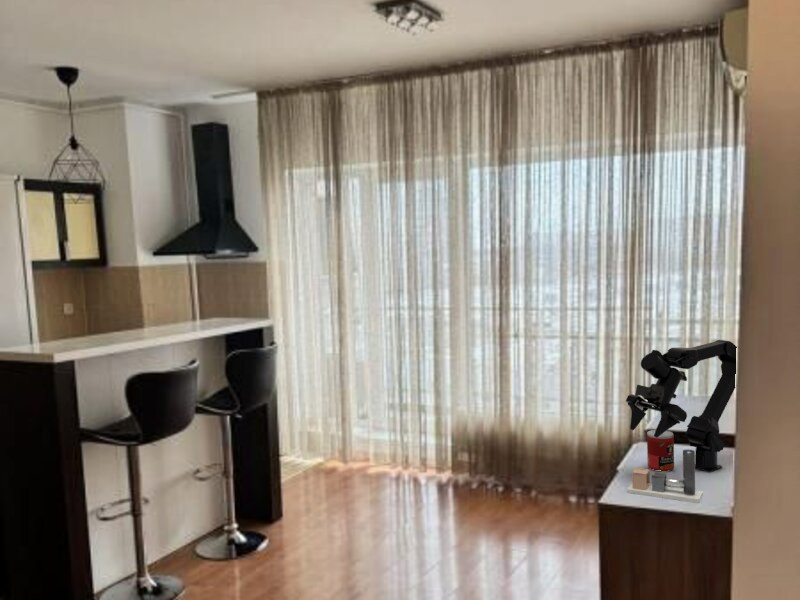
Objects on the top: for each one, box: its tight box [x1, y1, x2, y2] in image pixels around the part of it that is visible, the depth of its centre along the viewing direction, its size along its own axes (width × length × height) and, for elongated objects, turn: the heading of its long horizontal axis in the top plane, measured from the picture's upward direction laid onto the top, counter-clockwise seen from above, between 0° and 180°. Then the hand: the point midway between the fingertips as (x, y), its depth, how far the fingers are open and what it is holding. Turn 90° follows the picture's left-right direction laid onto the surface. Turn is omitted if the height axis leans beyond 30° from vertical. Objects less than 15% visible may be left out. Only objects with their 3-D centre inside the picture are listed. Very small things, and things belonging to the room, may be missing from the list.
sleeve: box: [651, 472, 668, 492], centre depth 198 cm, size 3×3×4 cm
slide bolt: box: [664, 449, 696, 494], centre depth 195 cm, size 11×3×12 cm, turn 58°
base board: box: [626, 483, 704, 504], centre depth 197 cm, size 19×6×1 cm, turn 58°
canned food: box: [646, 429, 675, 472], centre depth 218 cm, size 8×8×11 cm
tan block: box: [631, 467, 651, 490], centre depth 200 cm, size 4×4×5 cm
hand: (643, 433), depth 204 cm, fingers open, 9 cm apart
